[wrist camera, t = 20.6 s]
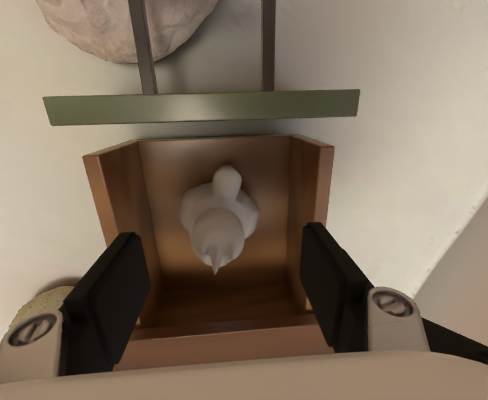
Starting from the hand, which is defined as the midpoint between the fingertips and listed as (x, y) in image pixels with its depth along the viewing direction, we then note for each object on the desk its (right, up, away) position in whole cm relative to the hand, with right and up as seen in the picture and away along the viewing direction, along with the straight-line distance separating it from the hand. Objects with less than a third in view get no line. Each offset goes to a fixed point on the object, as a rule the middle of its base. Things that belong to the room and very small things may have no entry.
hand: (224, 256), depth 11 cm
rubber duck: (-1, +3, +8) cm, 8 cm away
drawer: (-1, +5, +8) cm, 9 cm away
